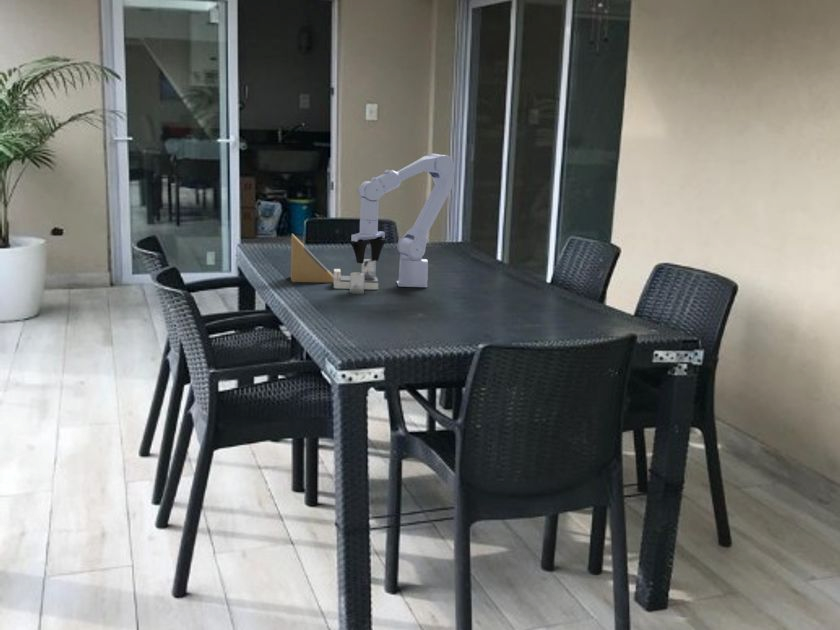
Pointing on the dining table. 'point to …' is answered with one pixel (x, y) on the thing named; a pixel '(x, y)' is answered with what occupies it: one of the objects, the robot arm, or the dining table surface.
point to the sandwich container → (306, 264)
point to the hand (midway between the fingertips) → (367, 261)
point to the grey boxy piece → (345, 281)
